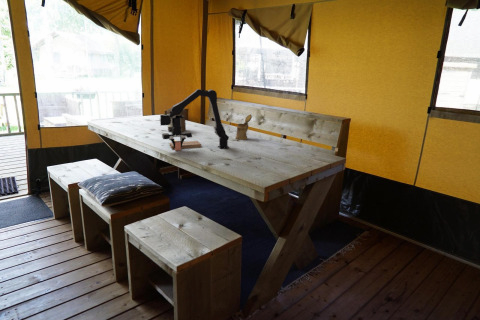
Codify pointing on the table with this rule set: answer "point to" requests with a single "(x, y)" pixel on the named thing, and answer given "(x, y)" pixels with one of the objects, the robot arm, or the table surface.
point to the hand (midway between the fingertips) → (177, 148)
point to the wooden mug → (243, 129)
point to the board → (188, 144)
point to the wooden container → (183, 124)
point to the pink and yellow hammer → (177, 145)
